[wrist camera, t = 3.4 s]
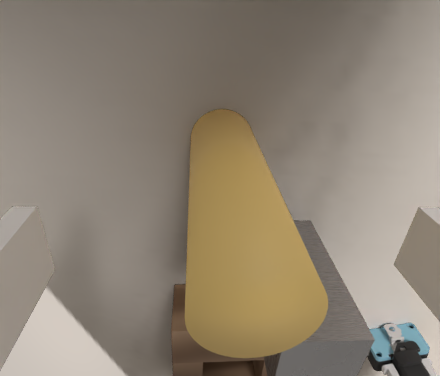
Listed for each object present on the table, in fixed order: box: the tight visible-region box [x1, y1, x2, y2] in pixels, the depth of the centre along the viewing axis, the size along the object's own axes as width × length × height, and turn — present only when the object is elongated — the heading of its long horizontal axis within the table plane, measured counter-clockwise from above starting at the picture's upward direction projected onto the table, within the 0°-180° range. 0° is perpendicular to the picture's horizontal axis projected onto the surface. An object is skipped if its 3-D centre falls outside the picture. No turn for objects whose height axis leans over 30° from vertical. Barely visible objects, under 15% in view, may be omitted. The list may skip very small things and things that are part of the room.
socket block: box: [171, 284, 267, 376], centre depth 25 cm, size 12×9×4 cm
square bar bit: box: [264, 221, 375, 376], centre depth 19 cm, size 4×4×9 cm
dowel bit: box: [185, 109, 328, 358], centre depth 13 cm, size 4×4×12 cm
